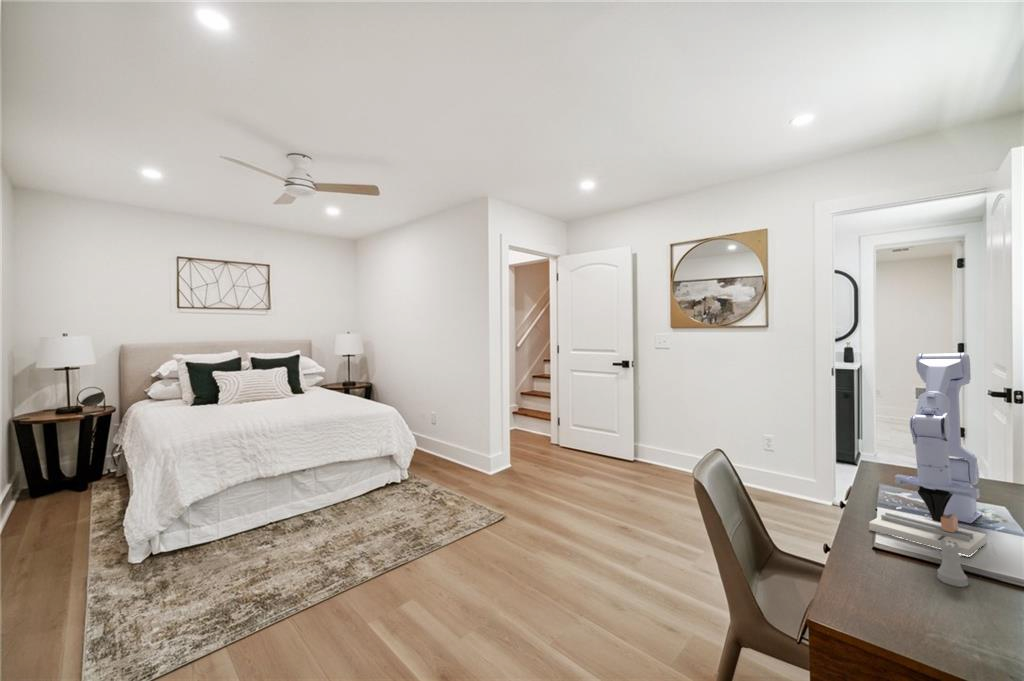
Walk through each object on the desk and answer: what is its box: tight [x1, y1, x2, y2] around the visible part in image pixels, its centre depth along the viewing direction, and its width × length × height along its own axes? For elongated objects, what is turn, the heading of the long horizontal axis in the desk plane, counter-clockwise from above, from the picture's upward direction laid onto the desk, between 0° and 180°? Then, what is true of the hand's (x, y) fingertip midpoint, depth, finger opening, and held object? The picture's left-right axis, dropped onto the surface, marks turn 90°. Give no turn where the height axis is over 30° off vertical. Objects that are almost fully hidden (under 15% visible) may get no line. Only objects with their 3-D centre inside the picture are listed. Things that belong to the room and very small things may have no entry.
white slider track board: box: [868, 510, 988, 556], centre depth 104 cm, size 12×18×3 cm, turn 29°
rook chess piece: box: [937, 540, 969, 588], centre depth 85 cm, size 4×4×8 cm
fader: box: [940, 514, 959, 533], centre depth 100 cm, size 3×2×4 cm, turn 119°
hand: (937, 520), depth 101 cm, fingers closed
